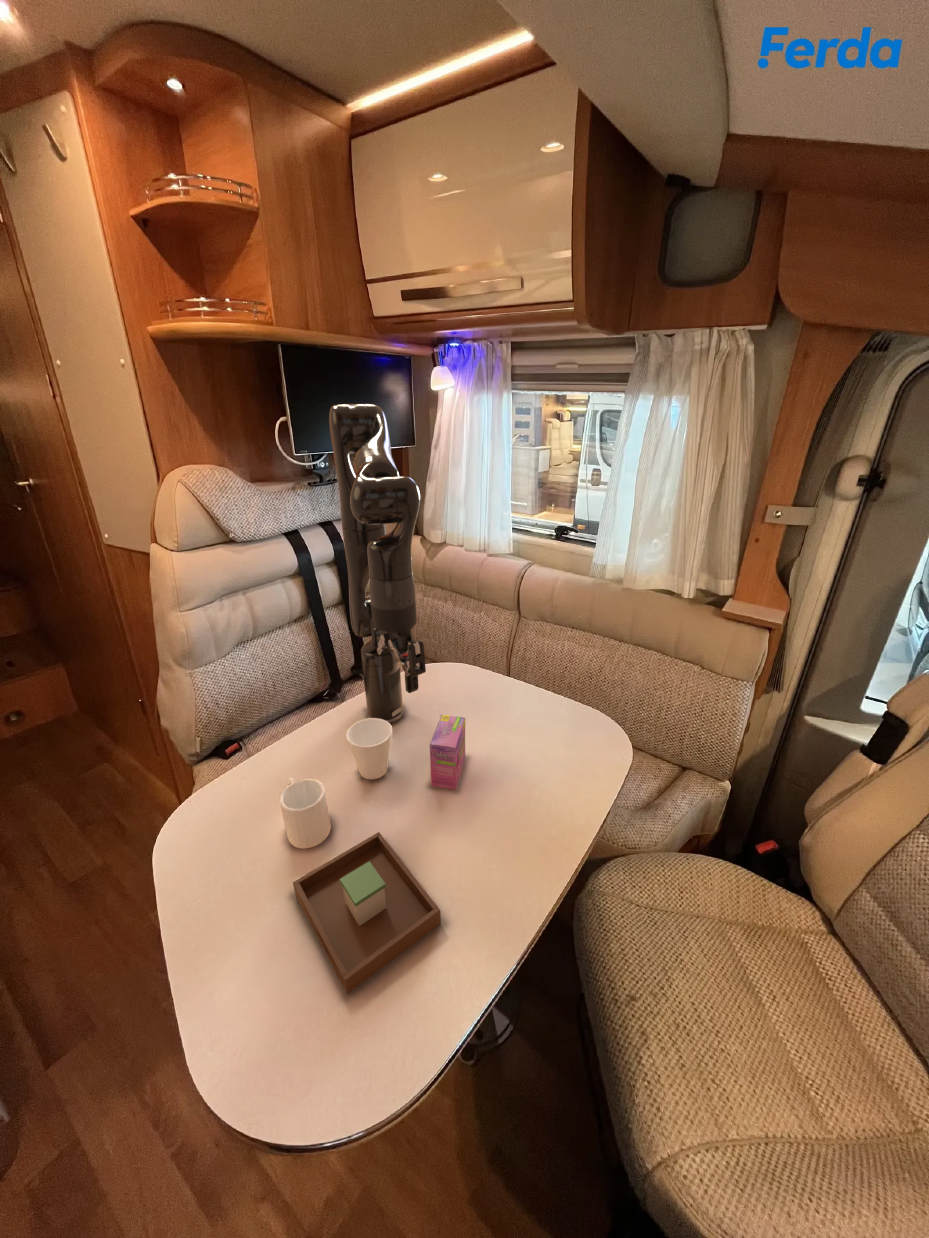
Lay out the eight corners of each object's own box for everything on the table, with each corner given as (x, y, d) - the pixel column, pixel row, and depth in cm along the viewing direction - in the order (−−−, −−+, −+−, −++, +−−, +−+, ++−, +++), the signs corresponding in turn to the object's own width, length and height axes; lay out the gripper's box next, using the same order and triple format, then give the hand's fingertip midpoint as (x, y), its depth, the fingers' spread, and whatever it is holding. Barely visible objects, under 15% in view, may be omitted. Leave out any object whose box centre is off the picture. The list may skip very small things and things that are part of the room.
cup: (342, 771, 112) (336, 732, 107) (377, 750, 119) (373, 712, 114) (369, 794, 106) (364, 753, 101) (405, 769, 113) (401, 730, 108)
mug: (313, 797, 105) (306, 761, 101) (337, 834, 97) (331, 796, 92) (275, 816, 101) (266, 779, 97) (297, 856, 92) (288, 817, 88)
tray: (295, 894, 85) (292, 881, 84) (380, 843, 95) (379, 831, 93) (347, 994, 71) (344, 980, 70) (441, 923, 81) (440, 909, 79)
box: (456, 790, 107) (455, 747, 102) (430, 787, 108) (428, 743, 103) (466, 758, 116) (465, 716, 111) (442, 755, 117) (440, 713, 112)
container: (343, 903, 83) (339, 879, 80) (372, 884, 86) (369, 860, 84) (358, 928, 79) (355, 903, 77) (388, 908, 82) (385, 883, 80)
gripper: (435, 606, 81) (439, 690, 88) (390, 581, 91) (396, 658, 98) (396, 619, 77) (402, 706, 84) (353, 591, 87) (362, 671, 94)
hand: (399, 680), depth 91 cm, fingers open, 8 cm apart
